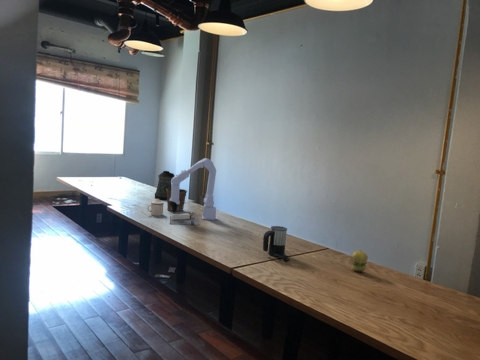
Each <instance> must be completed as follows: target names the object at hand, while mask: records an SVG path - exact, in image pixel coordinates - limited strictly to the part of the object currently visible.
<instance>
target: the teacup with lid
mask: <svg viewBox="0 0 480 360" xmlns="http://www.w3.org/2000/svg"><path fill="white" fill-rule="evenodd" d="M164 204H165V203H164V201H162V200H159V199H155V200H154V201H151V204H149V205H147V211H148V212H150V215H151V216H155V217H160V216H163V215H164ZM149 207H150V209H149Z"/></svg>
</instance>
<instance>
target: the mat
mask: <svg viewBox="0 0 480 360" xmlns="http://www.w3.org/2000/svg"><path fill="white" fill-rule="evenodd" d="M171 216H172V215H171ZM171 216H170V217H169V225H176V226H177V225H183V226H192V225H191V219H190V218H189V219H176V220H172V219H171ZM194 217H195V216H194ZM200 224H201V223H200V221H199V217H195V220H194V225H193V226H201V225H200Z"/></svg>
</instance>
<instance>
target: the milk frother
mask: <svg viewBox="0 0 480 360" xmlns="http://www.w3.org/2000/svg"><path fill="white" fill-rule="evenodd" d="M287 231H288V228H287V227H284V226H280V225H279V226H278V225H271V226H270V230H267V231H265V232H264V234H263V237H262V239H263V241H262V250H263V252H267V254H268V255H270V256H272V257H280V258H281V259H282V260H284V261H286V262H287V261H288V260H290V257H289V256H288V255H286V254H285V253H286V252H285V251H286V241H287V233H288V232H287Z"/></svg>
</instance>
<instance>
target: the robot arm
mask: <svg viewBox="0 0 480 360" xmlns="http://www.w3.org/2000/svg"><path fill="white" fill-rule="evenodd" d="M203 168H205V169H206V170H207V171H208V178H207V179H208V180H207V187H206V193H205V195H204V198H203V200H202V201H203V203H204V204H203V205H202V208H203V210H202V216H201V219H202V220H210V221H216V217H217V216H216V215H217V207H216V206H214V204H215V201H214V191H215V183H216V182H215V181H216V174H217V168H216V167H215V164H214V162H213V161H212V160H211V159H210V158H208V157H207V158H206V157H204V158H202V159H200V160H199V161H197V162H196V163H195V164H193V165H192V166H191V167H189V168H188V169H187V170H186V169H184V170H181V172H180V173H178V174H175V176H174V177H173V178H172V179H171V186H172V188H171V198H170V199H169V201H172V202H170V204H171V207H172V211H171V212H172V213H177V212H176V210H177V207H178V205H179V204H180V201H179V190H180V189H181V188H180V184H181V183H182V182H183V181H186V179H188V178H189V177H190V174H192V173H193V172H195V171H197V170H198V169H203Z"/></svg>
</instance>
